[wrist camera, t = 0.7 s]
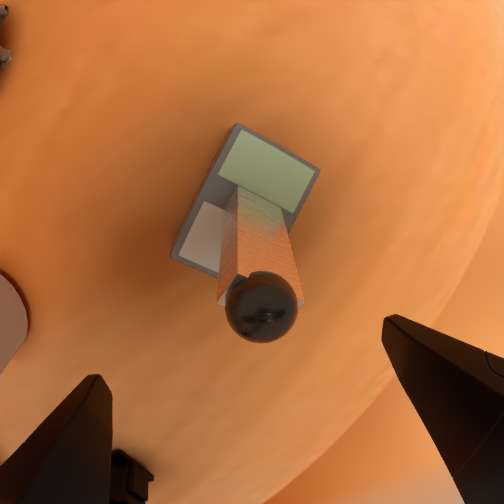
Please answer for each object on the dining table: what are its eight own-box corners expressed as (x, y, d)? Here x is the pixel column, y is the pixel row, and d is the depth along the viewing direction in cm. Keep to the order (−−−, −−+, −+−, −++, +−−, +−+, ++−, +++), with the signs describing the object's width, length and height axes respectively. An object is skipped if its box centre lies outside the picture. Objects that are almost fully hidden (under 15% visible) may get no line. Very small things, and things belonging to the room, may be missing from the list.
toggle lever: (261, 234, 19) (277, 365, 11) (220, 214, 18) (208, 343, 10) (285, 200, 18) (321, 322, 10) (242, 178, 17) (246, 292, 9)
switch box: (246, 278, 23) (256, 295, 20) (171, 245, 21) (169, 258, 18) (303, 169, 22) (322, 170, 19) (230, 128, 20) (237, 121, 17)
